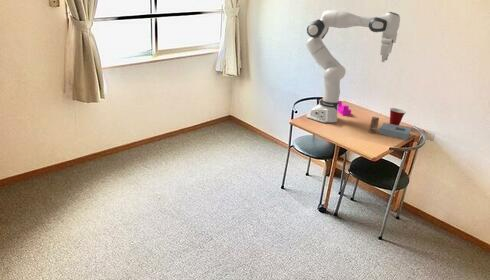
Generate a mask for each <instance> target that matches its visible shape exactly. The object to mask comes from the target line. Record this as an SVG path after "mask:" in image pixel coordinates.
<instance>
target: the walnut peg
mask: <svg viewBox="0 0 490 280" xmlns="http://www.w3.org/2000/svg"><path fill="white" fill-rule="evenodd" d="M379 121H380V117H377V116H376V117H375V116H372V117H371V119H370V125H369V130H368V132H369V133H370V134H376V133H377V130H378V126H379Z"/></svg>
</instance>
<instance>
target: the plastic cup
mask: <svg viewBox="0 0 490 280" xmlns="http://www.w3.org/2000/svg"><path fill="white" fill-rule="evenodd" d="M389 110H390V111H389V112H390V113H389V124H393V125H397V126H400V124H401V121H402V119H403V117H404V116H405V114H406V113H407V111H405V110H403V109H399V108H396V107H390V108H389Z"/></svg>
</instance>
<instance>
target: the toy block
mask: <svg viewBox="0 0 490 280" xmlns="http://www.w3.org/2000/svg"><path fill="white" fill-rule="evenodd" d="M349 107H350V106H349V105H346V104H344V105H343V101H342V100H339V106H338V109H337V113H340V115H341V116H345V115H350V116H351V114H352V109H350V108H349Z"/></svg>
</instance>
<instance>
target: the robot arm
mask: <svg viewBox="0 0 490 280" xmlns="http://www.w3.org/2000/svg"><path fill="white" fill-rule="evenodd" d="M400 22H401V17H400V14H398V13H397V12H393V11H388V12H386V13H384V14H382V15H378V16H375V17H368V16H360V15H356V14H354V13H350V12H347V11H345V10H338V9H337V10H336V9H329V10H327V9H326V10H324V11H323V12H322V15H321V17H320V19H315V20H314V21H312V22H310V23H309V24H308V25H307V28H306V33H307V35H308V36H309V38H308V39H307V40H306V43H305V45H306V47H307V49H308V51H309V53H310V55H311V56H312V58H313V59H314V60H315V62H316V63H317V65H318V66H320V67H321V68H322V69H323V70H324V72H323V80H324V81H323V82H324V83H323V84H324V85H323V87H324V89H323V90H324V91H323V96H322V98H321V99H319V103H318V104H317V105H315V106H313V107H312V108H311V109H310V111H309V112H308V113H307V114H306V116H305V117H306V118H307V119H311V120H314V121H318V122H321V123H337V122H338V111H337V109H338V106H339V101H340V100H339V99H340V94H341V87H340V86H341V84H340V83H341V80H343V78H344V77H345V75H346V68H345V66H343V65H342V64H341V63H340V62H339V60H338V59H336V57H334V55H332V53H331V52H330V50H329V48H327V46H326V45H325V44H324V42H323V39H324V38H325V36H326V35H327V34H328V32H329V28H336V29H349V28H353V27H364V28H368V29H369V30H370V31H371V32H372V33H382V35H381V40H380V44H381V45H380V56H381V63H385V62H386V61H388V59H389V57H390V56H389V55H390V54H391V53H392V50H393V45H394V44H395V43H396V42H397V38H398V30H399V28H400V24H401V23H400Z"/></svg>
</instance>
